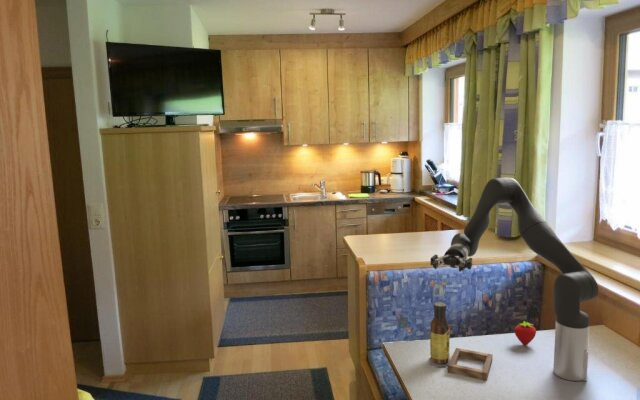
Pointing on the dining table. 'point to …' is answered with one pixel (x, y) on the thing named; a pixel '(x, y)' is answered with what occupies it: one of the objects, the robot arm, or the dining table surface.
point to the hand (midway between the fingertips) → (447, 267)
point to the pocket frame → (469, 371)
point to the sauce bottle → (439, 335)
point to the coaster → (438, 364)
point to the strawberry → (525, 332)
